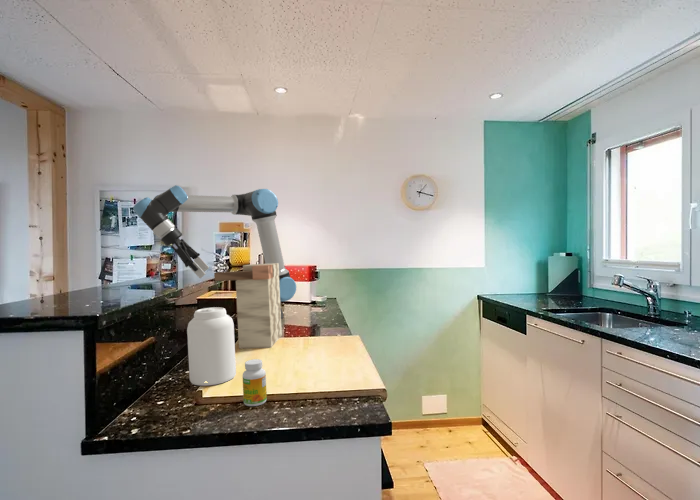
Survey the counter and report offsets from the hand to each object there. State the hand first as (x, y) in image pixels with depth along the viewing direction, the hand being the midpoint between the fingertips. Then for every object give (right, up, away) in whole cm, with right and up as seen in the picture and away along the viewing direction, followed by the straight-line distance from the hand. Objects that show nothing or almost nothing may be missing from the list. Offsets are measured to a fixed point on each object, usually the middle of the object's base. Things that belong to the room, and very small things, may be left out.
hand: (205, 273), depth 156 cm
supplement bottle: (+37, -27, -66) cm, 80 cm away
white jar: (+21, -27, -48) cm, 59 cm away
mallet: (+20, -2, -13) cm, 23 cm away
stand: (+25, -26, -8) cm, 38 cm away
